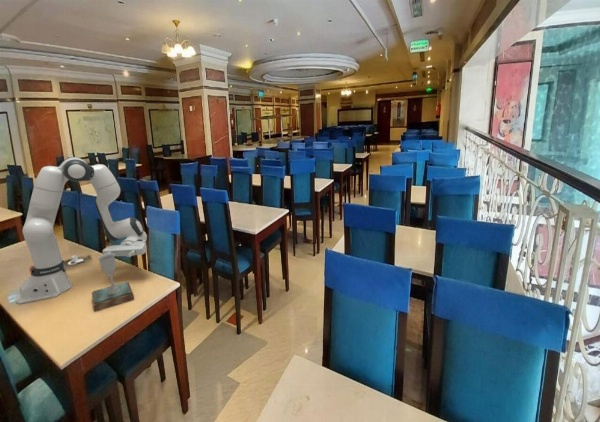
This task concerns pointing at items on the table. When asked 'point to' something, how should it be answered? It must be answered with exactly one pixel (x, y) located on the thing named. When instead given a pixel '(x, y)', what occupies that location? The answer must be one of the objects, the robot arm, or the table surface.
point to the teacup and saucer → (75, 260)
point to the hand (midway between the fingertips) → (118, 256)
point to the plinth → (112, 296)
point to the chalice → (109, 269)
